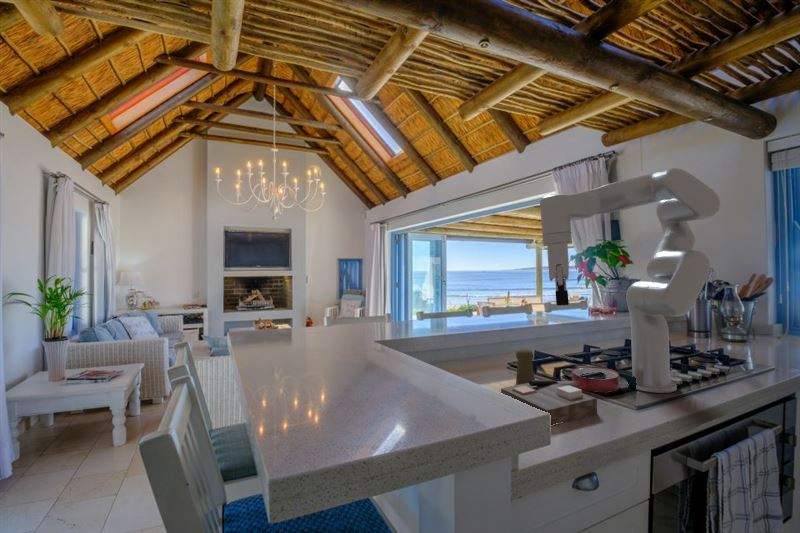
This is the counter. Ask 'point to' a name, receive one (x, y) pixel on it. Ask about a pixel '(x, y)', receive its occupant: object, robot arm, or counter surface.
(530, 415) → the counter surface
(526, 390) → the terracotta key
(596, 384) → the frying pan
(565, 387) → the cream key
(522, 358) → the olive brown rounded cylinder
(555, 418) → the brown wooden flat board
